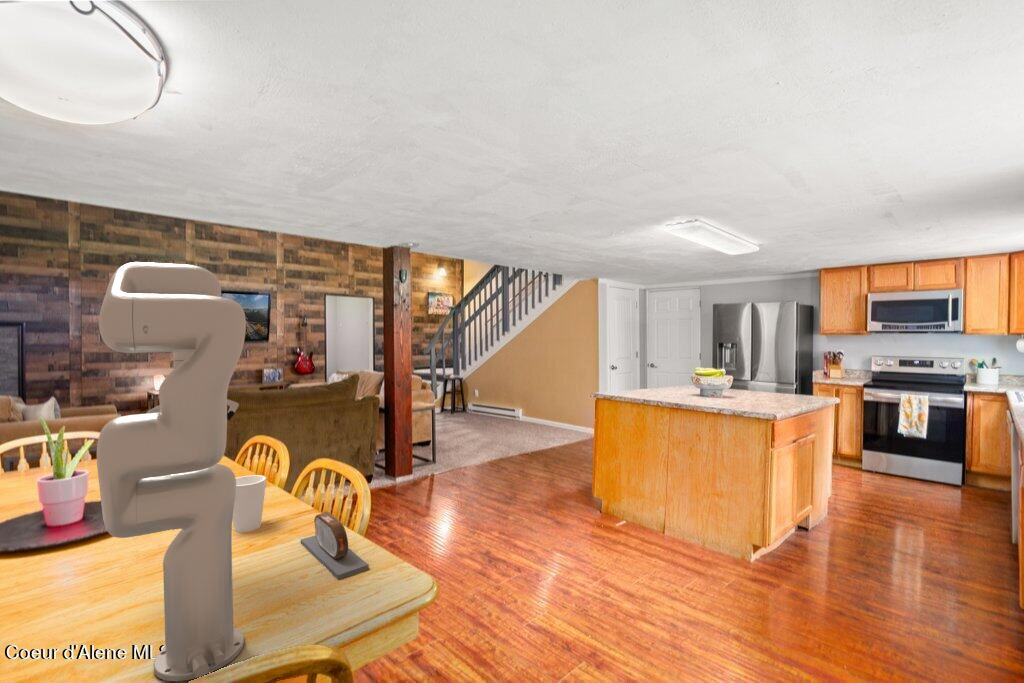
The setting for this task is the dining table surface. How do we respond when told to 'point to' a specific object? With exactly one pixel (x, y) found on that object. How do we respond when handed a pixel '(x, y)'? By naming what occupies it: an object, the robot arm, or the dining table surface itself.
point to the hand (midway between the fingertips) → (195, 444)
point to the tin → (331, 535)
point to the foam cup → (248, 503)
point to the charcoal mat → (335, 566)
